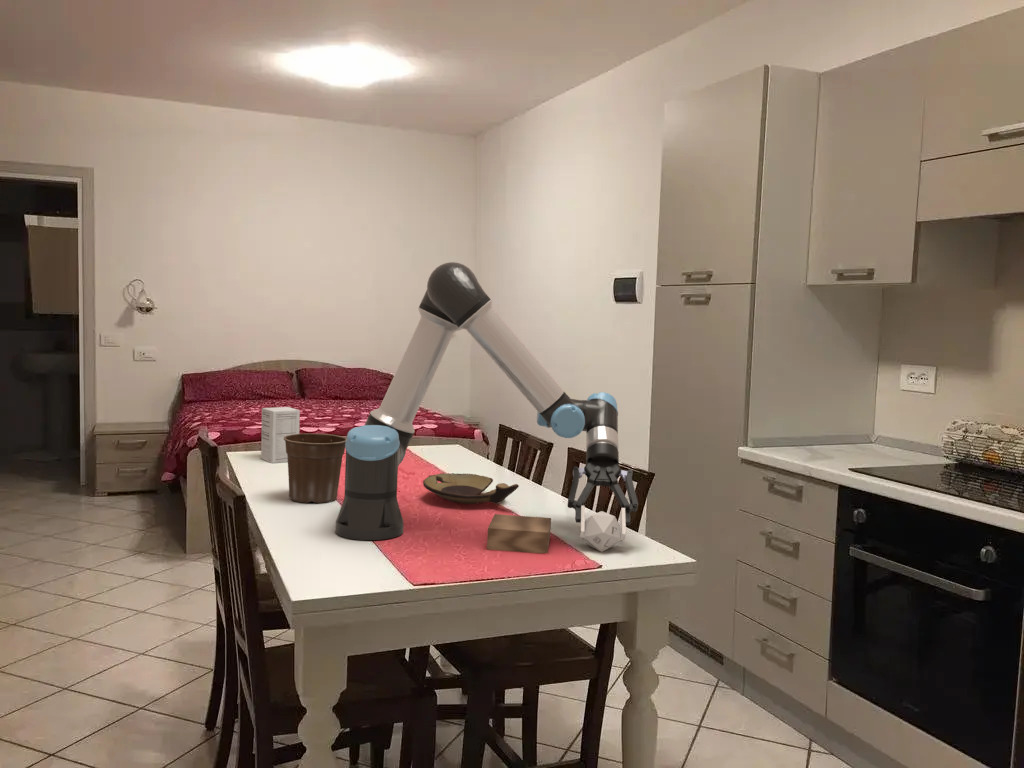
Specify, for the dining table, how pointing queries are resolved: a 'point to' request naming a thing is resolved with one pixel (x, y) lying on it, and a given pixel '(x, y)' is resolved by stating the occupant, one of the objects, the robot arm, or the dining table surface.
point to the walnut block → (519, 533)
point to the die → (602, 531)
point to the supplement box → (277, 432)
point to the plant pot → (314, 466)
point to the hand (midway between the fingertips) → (602, 535)
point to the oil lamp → (467, 488)
